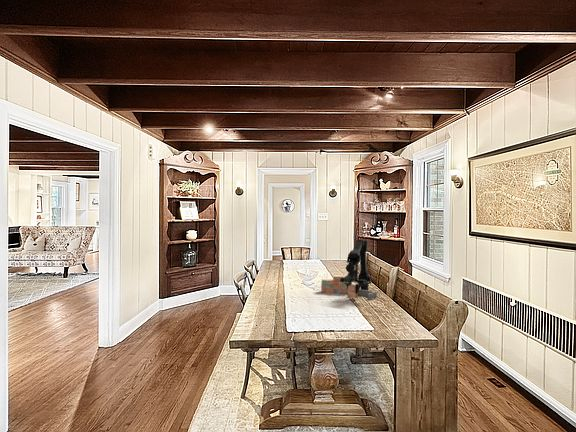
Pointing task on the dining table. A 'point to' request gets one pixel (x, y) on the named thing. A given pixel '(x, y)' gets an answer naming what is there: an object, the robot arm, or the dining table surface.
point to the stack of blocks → (334, 285)
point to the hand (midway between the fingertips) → (353, 293)
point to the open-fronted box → (368, 294)
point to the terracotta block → (352, 291)
